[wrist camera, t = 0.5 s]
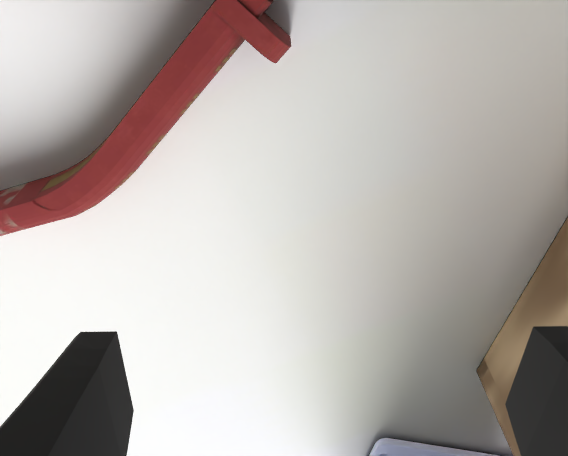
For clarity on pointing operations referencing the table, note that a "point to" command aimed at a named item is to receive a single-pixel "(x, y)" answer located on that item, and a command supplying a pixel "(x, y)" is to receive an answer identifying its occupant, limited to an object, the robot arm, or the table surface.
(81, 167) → the pliers
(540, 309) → the wooden tray
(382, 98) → the table surface
